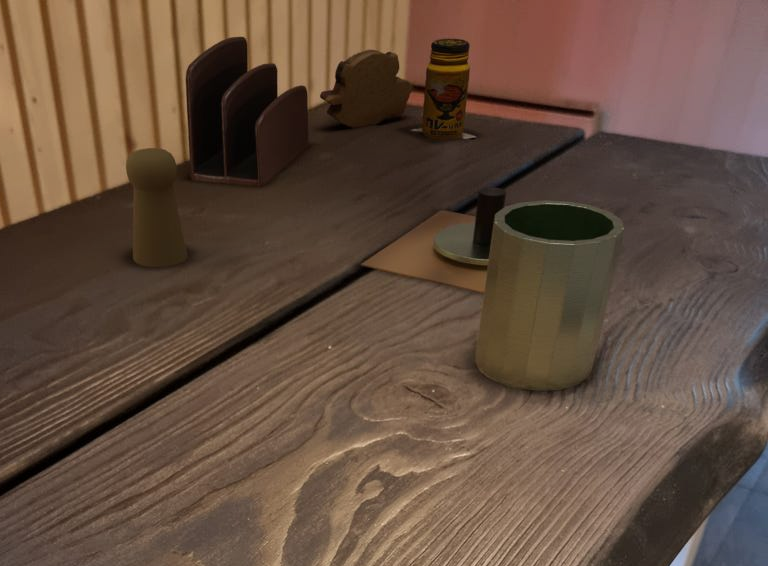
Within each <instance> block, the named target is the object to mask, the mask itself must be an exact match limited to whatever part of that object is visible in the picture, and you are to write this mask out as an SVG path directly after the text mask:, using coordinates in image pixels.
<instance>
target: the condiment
mask: <svg viewBox="0 0 768 566" xmlns="http://www.w3.org/2000/svg"><path fill="white" fill-rule="evenodd" d="M430 44H431V45H430V48H431V49H430V55H429V59H430V61H429V63H428V64H427V67H426V69H425V81H424V82H425V84H424V92H423V93H424V95H423V96H424V97H423V98H424V99H423V104H422V105H423V112H422V113H423V114H422V124H421V127H420V128H414V129H411V131H413V132H420V133H422V135H423V136H424V137H425V138H429V139H432V140H433V139H434V140H455V139H464V140H468V139H473V138H477V136H475V135H472V134H469V133H466V132H464V128H465V118H466V111H467V109H466V108H467V100H468V93H469V81H470V74H471V73H470V70H471V67H470V63H469V62H468V59H469V58H470V55H469V53H470V43H469V41H468V40H465V39H461V38H450V37H449V38H438V39H435V40H434V41H432V43H430Z"/></svg>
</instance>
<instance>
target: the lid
mask: <svg viewBox="0 0 768 566" xmlns="http://www.w3.org/2000/svg"><path fill="white" fill-rule="evenodd" d="M506 197H507V191H506V190H505V189H503V188H500V187H495V186H490V187H489V186H488V187H483V188H480V189H479V190H478V196H477V202H476V203H477V205H476V212H475V216H476V219H475V223H465V224H458V225H454V226H450V227H447V228H444V229H442V230H440V231H439V232H438V233H437V234H436V235H435V237H434V248H435V249H436V250H437V251H438V252H439V253H440V254H442V255H443V256H445V257H447V258H450V259H453V260H456V261H459V262H464V263H469V264H476V265H488V261H489V253H490V246H491V239H492V232H493V224H494V217H495V214H496V213H497V212H499V211H500V210H502V209H503V208H504V207H505V203H506Z"/></svg>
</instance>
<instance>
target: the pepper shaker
mask: <svg viewBox="0 0 768 566" xmlns="http://www.w3.org/2000/svg"><path fill="white" fill-rule="evenodd" d="M125 163H126V164H125V170H126V171H125V172H126V176H127V180H128V181H129V183H130V185H131V186H132V187H133V205H132V206H133V207H132V208H133V209H132V210H133V215H132V216H133V218H132V220H133V221H132V223H133V224H132V228H133V229H132V232H133V233H132V258H133V262H135V263H136V264H137V265H140V266H143V267H149V268H164V267H171V266H175V265H178V264H182V263H183V262H184V261H186V260H187V258H188V252H187V247H186V241H185V237H184V233H183V227H182V223H181V218H180V214H179V207H178V204H177V198H176V194H175V190H174V184H175V182H176V179H177V176H178V165H177V162H176V159H175V157H174V156H173V154H172V152H169V151H168V150H166V149H163V148H157V147H148V148H141V149H137V150H135V151H132V152H131V153H130V154H129V155H128V158H127V159H126V162H125Z"/></svg>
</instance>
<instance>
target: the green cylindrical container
mask: <svg viewBox="0 0 768 566" xmlns="http://www.w3.org/2000/svg"><path fill="white" fill-rule="evenodd" d="M624 232H625V227H624V223H623V220H622V218H619V217H618V216H617V215H615V214H614V213H612V212H611V211H608V210H605V209H603V208H600V207H597V206H594V205H590V204H585V203H580V202H575V201H567V200H566V201H565V200H534V201H523V202H517V203H514V204H510V205H507V206H506V205H505V206H504V208H503V209H502V210H500V211H499V212H497V213H496V214H495V217H494V224H493V232H492V239H491V246H490V253H489V261H488V268H487V275H486V283H485V290H484V293H483V297H482V304H481V305H482V306H481V313H480V320H479V326H478V327H479V328H478V332H477V334H478V335H477V342H476V349H475V361H474V363H475V365H476V367H477V369H478V370H479V371H480V372H481V373H482V375H484V376H485V377H487V378H489V379H490V380H491V381H494V382H496V383H498V384H502V385H504V386H507V387H511V388H515V389H519V390H528V391H538V392H539V391H540V392H544V391H545V392H546V391H547V392H548V391H558V390H559V391H560V390H565V389H569V388H572V387H574V386H577V385H579V384H581V383H583V382H584V381H586V380H587V379H588V378H589V376H590V374H591V373H592V371H593V367H594V362H595V359H596V354H597V349H598V345H599V341H600V337H601V332H602V329H603V323H604V320H605V316H606V310H607V306H608V303H609V297H610V293H611V289H612V284H613V281H614V277H615V272H616V268H617V263H618V259H619V256H620V250H621V246H622V242H623V237H624Z"/></svg>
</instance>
